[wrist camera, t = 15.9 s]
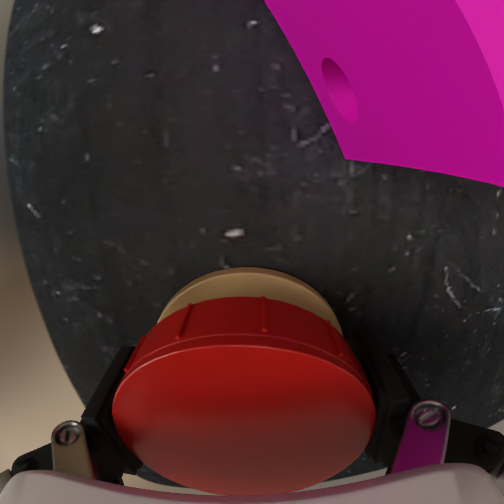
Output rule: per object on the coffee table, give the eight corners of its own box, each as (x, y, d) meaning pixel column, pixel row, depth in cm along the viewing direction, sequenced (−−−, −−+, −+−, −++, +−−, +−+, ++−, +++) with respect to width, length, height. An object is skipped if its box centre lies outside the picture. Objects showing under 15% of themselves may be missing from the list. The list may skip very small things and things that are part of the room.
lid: (165, 253, 8) (135, 290, 6) (399, 340, 9) (428, 385, 7) (122, 417, 10) (105, 459, 8) (292, 464, 11) (296, 505, 9)
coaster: (253, 431, 14) (253, 440, 13) (125, 349, 12) (121, 357, 11) (374, 344, 12) (379, 352, 11) (241, 221, 10) (240, 226, 10)
